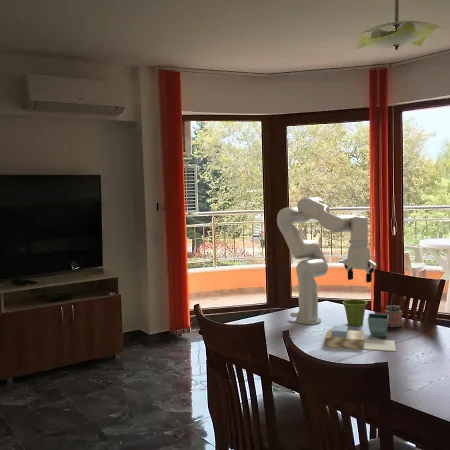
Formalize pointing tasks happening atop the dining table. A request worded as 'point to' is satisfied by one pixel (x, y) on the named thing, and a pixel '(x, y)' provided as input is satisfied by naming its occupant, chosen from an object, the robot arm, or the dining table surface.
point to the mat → (379, 345)
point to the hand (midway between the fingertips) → (359, 280)
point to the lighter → (394, 316)
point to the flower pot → (378, 324)
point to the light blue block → (339, 331)
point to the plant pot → (355, 311)
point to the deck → (345, 340)
